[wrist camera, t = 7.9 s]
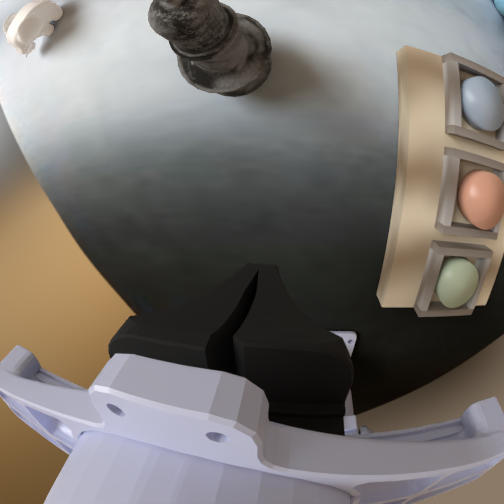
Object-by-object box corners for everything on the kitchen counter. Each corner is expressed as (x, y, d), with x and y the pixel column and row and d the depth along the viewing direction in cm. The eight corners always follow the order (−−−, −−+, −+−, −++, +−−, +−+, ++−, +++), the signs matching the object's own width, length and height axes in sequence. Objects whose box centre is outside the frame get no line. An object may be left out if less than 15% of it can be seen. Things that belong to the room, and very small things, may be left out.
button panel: (476, 294, 20) (492, 313, 17) (376, 294, 22) (386, 317, 19) (505, 93, 12) (528, 92, 9) (396, 52, 14) (413, 40, 11)
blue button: (492, 135, 13) (504, 136, 11) (456, 122, 13) (468, 122, 12) (491, 87, 11) (502, 86, 10) (453, 71, 12) (465, 68, 10)
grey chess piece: (275, 29, 15) (250, -71, 4) (274, 100, 17) (246, 48, 6) (197, 34, 15) (107, -35, 5) (194, 102, 18) (85, 78, 7)
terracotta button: (489, 224, 15) (500, 232, 13) (453, 219, 15) (464, 227, 14) (497, 174, 13) (509, 178, 12) (460, 164, 14) (473, 167, 12)
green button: (461, 297, 18) (469, 307, 17) (426, 297, 19) (433, 308, 18) (474, 255, 17) (484, 264, 15) (439, 253, 17) (448, 262, 16)
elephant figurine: (24, 53, 16) (-12, 51, 10) (54, -4, 13) (21, -13, 7) (47, 62, 17) (6, 60, 11) (83, -2, 13) (46, -15, 8)
